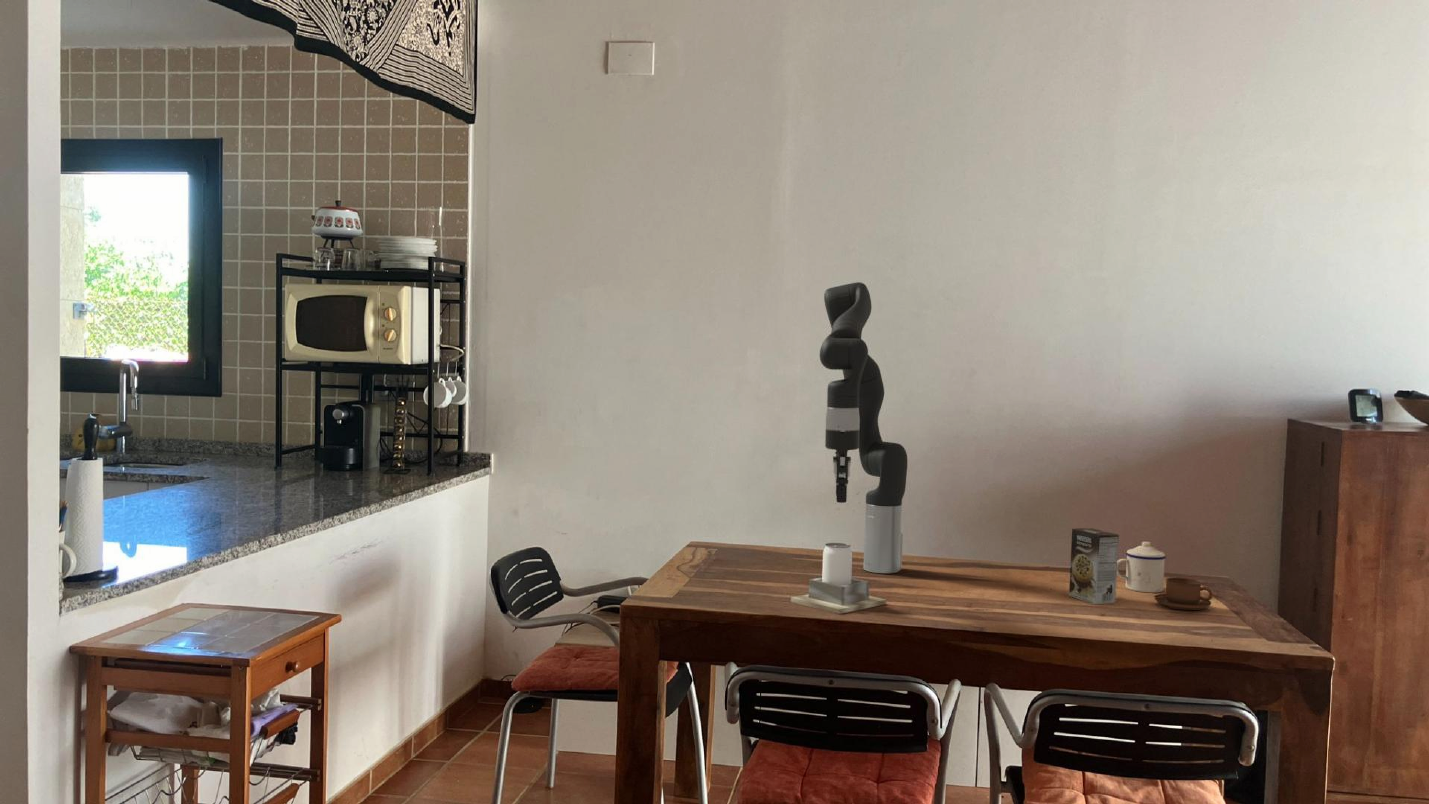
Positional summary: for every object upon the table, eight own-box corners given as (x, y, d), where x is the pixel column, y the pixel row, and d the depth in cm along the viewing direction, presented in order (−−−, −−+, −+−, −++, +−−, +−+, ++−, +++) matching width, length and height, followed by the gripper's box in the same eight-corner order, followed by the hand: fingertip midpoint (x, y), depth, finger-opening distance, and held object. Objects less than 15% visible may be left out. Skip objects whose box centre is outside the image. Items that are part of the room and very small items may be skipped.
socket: (837, 592, 260) (838, 571, 259) (885, 604, 249) (886, 581, 249) (790, 602, 249) (791, 579, 248) (839, 614, 238) (839, 590, 238)
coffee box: (1067, 596, 264) (1070, 528, 263) (1088, 594, 266) (1092, 527, 265) (1094, 604, 255) (1098, 534, 254) (1116, 603, 258) (1120, 533, 257)
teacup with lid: (1155, 586, 279) (1158, 539, 278) (1169, 593, 270) (1172, 546, 269) (1107, 584, 279) (1109, 538, 278) (1120, 592, 270) (1122, 544, 269)
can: (850, 595, 252) (851, 543, 252) (851, 602, 246) (853, 548, 245) (821, 594, 253) (823, 541, 252) (821, 600, 246) (823, 546, 246)
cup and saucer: (1204, 604, 260) (1205, 577, 260) (1216, 615, 249) (1217, 588, 248) (1149, 600, 263) (1151, 574, 262) (1159, 611, 251) (1160, 584, 251)
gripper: (825, 424, 257) (824, 494, 258) (825, 430, 243) (824, 503, 244) (858, 425, 256) (856, 495, 257) (860, 430, 242) (859, 504, 243)
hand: (841, 499), depth 251 cm, fingers open, 8 cm apart
